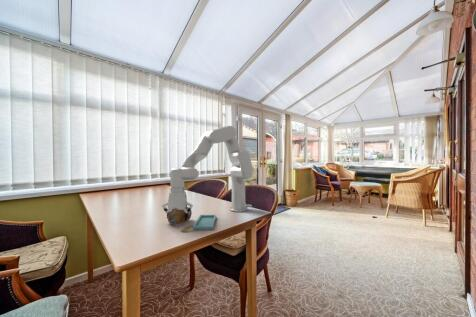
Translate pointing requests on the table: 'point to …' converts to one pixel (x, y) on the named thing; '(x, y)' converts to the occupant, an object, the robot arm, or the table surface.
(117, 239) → the table surface
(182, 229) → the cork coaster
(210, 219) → the tray
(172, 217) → the tin
